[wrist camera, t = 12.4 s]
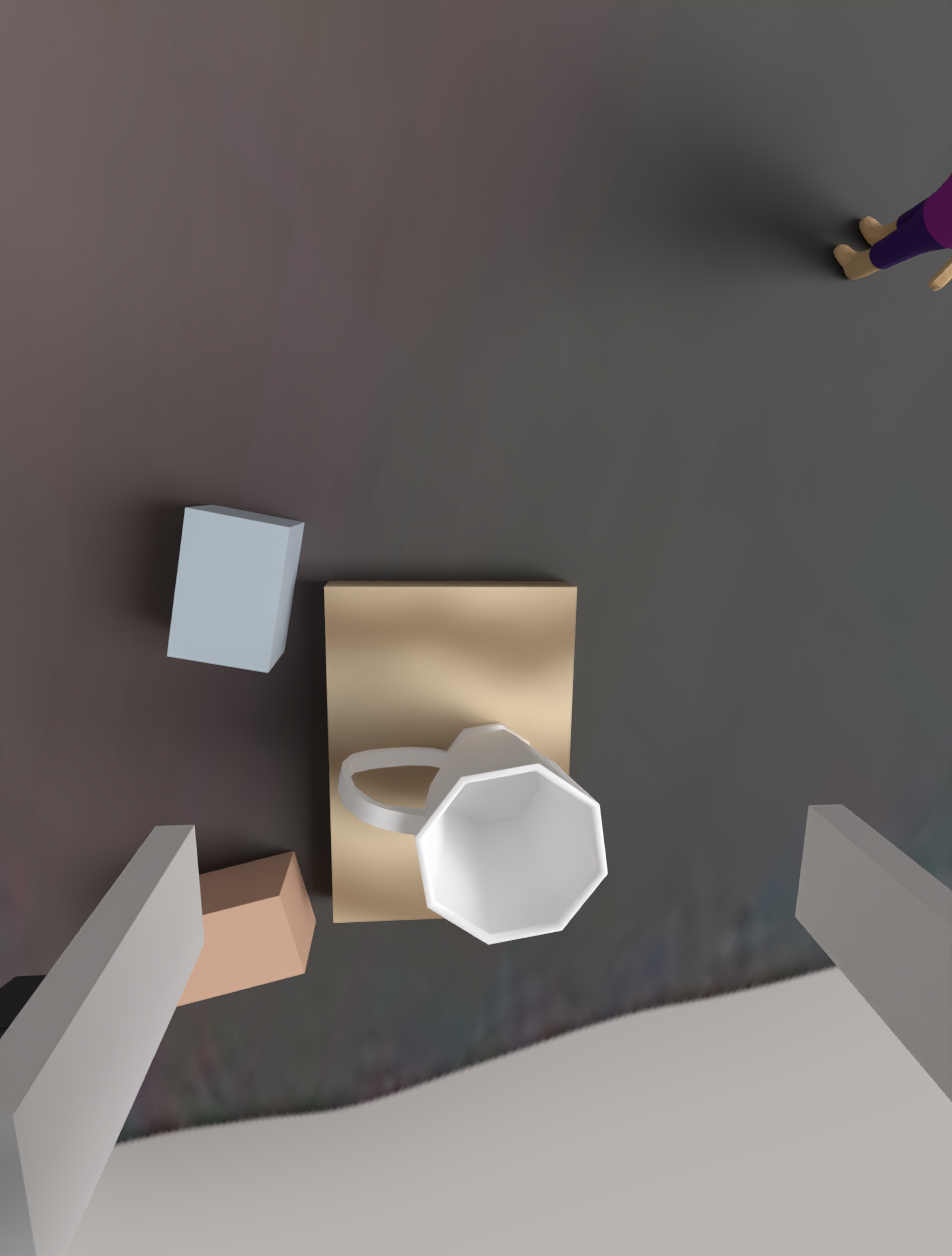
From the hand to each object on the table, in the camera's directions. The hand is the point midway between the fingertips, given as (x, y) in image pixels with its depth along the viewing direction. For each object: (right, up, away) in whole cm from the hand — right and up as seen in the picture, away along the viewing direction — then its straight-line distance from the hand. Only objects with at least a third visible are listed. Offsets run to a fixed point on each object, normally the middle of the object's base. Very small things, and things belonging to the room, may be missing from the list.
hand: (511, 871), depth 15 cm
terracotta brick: (-12, -8, +20) cm, 25 cm away
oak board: (-2, -1, +19) cm, 19 cm away
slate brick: (-11, +7, +17) cm, 21 cm away
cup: (-2, -1, +17) cm, 17 cm away
